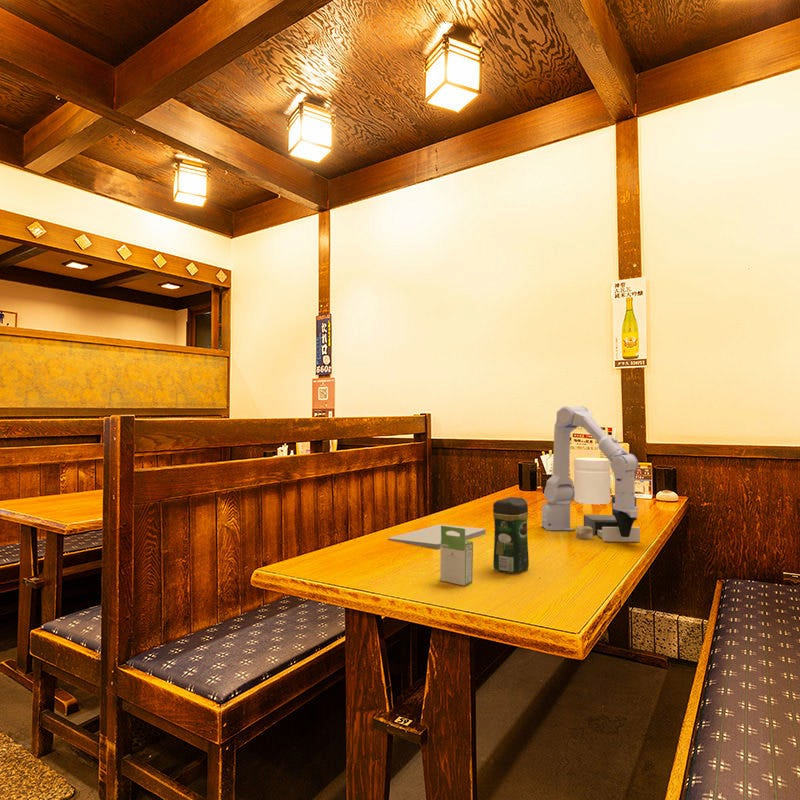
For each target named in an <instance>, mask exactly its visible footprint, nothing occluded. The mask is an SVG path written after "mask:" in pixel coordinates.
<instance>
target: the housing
mask: <svg viewBox="0 0 800 800" xmlns="http://www.w3.org/2000/svg"><path fill="white" fill-rule="evenodd" d="M583 526H589V527H591V528H592V529H593V536H596V531H597V530H602V527H619V526H618V523H617V520H616V518H615V516H614V515H612V514H583Z"/></svg>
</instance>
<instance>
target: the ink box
mask: <svg viewBox="0 0 800 800" xmlns="http://www.w3.org/2000/svg"><path fill="white" fill-rule="evenodd" d="M448 531H455V532H457V533H459V534H460V536H453V535H447V534H446V532H448ZM473 554H474V542H473V541H470V540H465V529H463V528H455V527H448V526H441V549H440V569H439V570H440V575H439V576H440V579H439V580H440V581H442V582H446V583H451V584H455V585H459V586H464V587H465V586H468V585H471V584H472V583H473V577H474V576H473V574H474V573H473V571H474V570H473V569H474V567H473V565H474V564H473V562H474V558H473V557H474V555H473Z"/></svg>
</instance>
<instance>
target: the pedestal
mask: <svg viewBox="0 0 800 800" xmlns="http://www.w3.org/2000/svg"><path fill="white" fill-rule="evenodd" d="M593 536H594V535H593V529H592V528H591V527H589V526H584V525H577V526H576V538H577V539H579V540H587V541H588V540H594V537H593Z"/></svg>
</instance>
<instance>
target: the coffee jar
mask: <svg viewBox="0 0 800 800" xmlns="http://www.w3.org/2000/svg"><path fill="white" fill-rule="evenodd" d="M492 505H493V506H492V508H493V509H492V515H493V521H494V535H493V536H494V537H493V538H494V540H493V569H494V570H495V571H497V572H499V573H503V574H519V573H522V572H524V571H525V570H527V569H528V568H529V565H530V564H529V563H530V559H529V543H528V541H529V539H528V517H529V507H528V506H529V505H528V502H527V500H525V499H524V498H522V497H517V496H515V497H514V496H510V497H505V498H503V499H499V500H496V501H495V502H493V504H492Z"/></svg>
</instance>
